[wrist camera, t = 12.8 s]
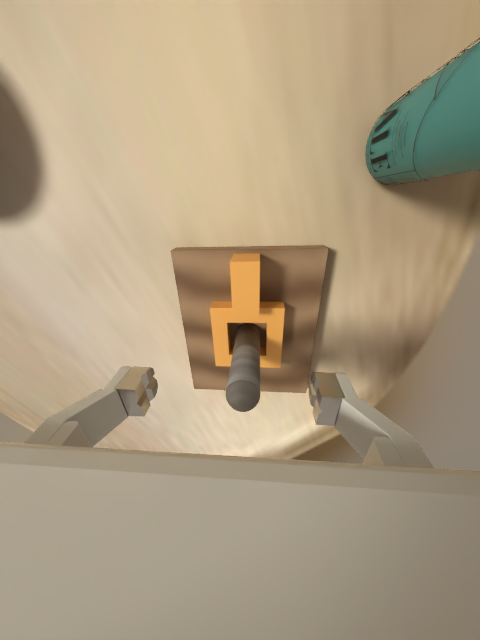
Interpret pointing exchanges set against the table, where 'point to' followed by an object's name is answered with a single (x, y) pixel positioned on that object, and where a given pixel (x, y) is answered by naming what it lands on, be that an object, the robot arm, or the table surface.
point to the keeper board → (274, 287)
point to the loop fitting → (247, 313)
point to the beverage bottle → (431, 126)
